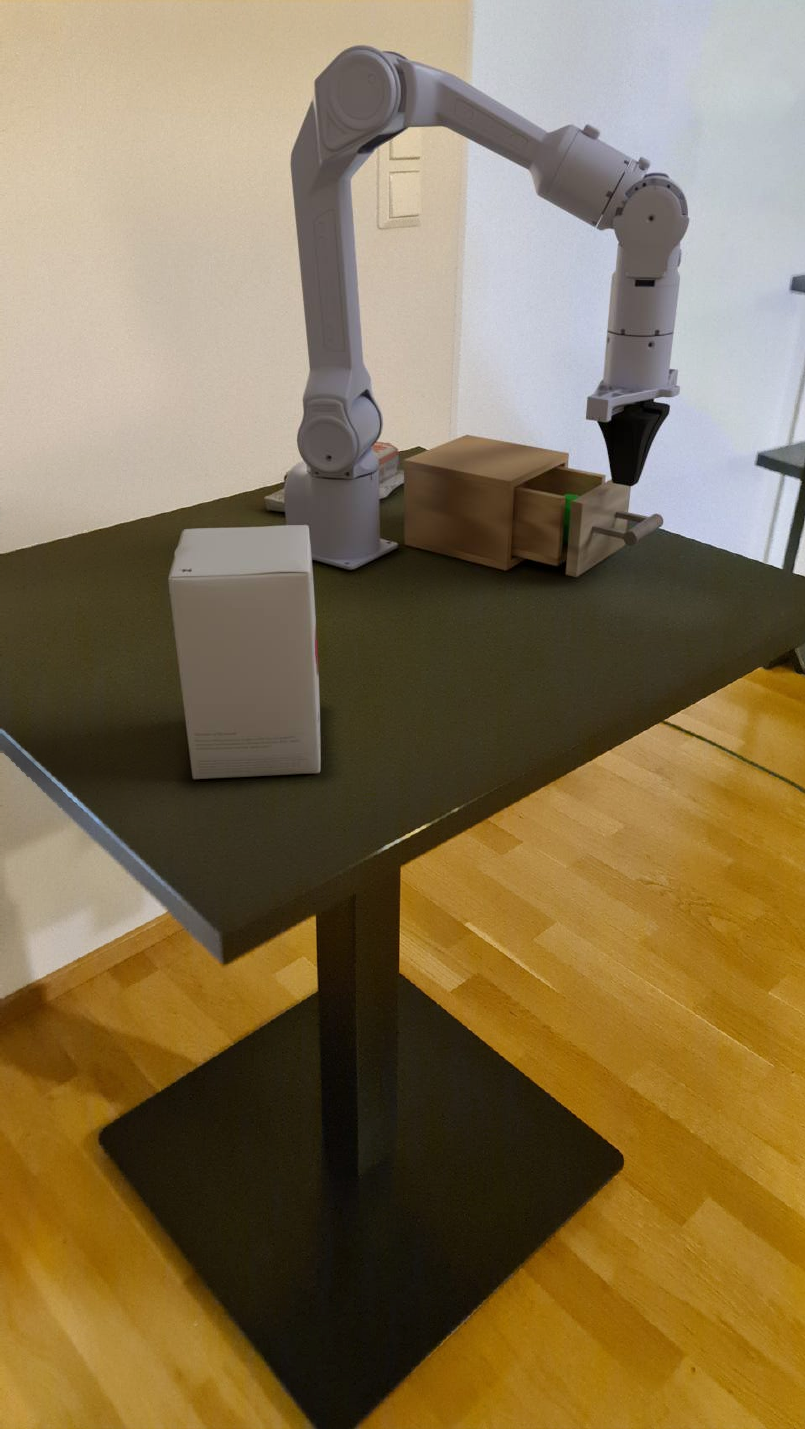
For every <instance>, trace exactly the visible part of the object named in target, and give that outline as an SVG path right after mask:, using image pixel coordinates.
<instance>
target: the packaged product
mask: <svg viewBox="0 0 805 1429" xmlns="http://www.w3.org/2000/svg"><path fill="white" fill-rule="evenodd" d="M373 450H374V453H375V456H376V457H377V459H378V461H379V500H381V499H384V498H387V497H388V496H389V495H390V493H391V492H392V491H394V490H395V489H397V488H398V487H399V486H401V485H404V469H398V467H399V466H400V458H399V449H398V447H396V446H395V445H392V444H391V443H390V442H383V441H377V442H376V443H375V444H374V445H373ZM290 470H291V469H289V470H288V471H286V472H285V474H284V476H283V483H284V484H285V482H286V478H287V475H288V473H289V471H290ZM263 500H264V503H265V506H266V510H268V511H274V512H282V513H285V501H284V488H282V489H279V490H278V491H276V492H273V493H272V494H269V495H266V496H264V499H263Z"/></svg>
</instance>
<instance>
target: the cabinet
mask: <svg viewBox="0 0 805 1429" xmlns="http://www.w3.org/2000/svg"><path fill="white" fill-rule="evenodd" d="M569 458H570V452H564V451H559V450H553V449H548V448H543V447H537V446H531V445H527V444H520V443H515V442H509V441H504V440H497V439H492V438H487V437H481V436H476V435H471V434H465V435H463V436H460V437H458V438H454V439H452V440H450V441H447V442H445V443H442V444H440V445H437V446H435V447H432V448H430V449H428V450H425V451H423V452H420V453H418V454H414V455H412V456H410V457H407V458H405V459H403V471H404V483H403V522H404V523H403V524H404V525H403V528H404V529H403V531H404V536H403V538H404V546H409V547H412V548H417V549H420V550H424V551H428V552H431V553H435V554H440V555H443V556H448V557H451V558H455V559H460V560H463V561H468V562H471V563H474V564H478V565H481V566H482V565H483V566H486V567H490V568H495V569H497V570H502V571H508V570H510V569H512V568H513V567H515V566H517V565H518V564H520V563H522V562H524V561H525V560H527V559H526V558H522V557H518V556H514V555H511V543H512V522H513V501H514V487H516V486H518V485H520V484H522V483H524V482H526V481H528V480H530V479H532V478H534V477H536V476H538V475H540V474H542V473H544V472H546V471H548V470H550V469H552V468H554V467H556V466H560V467H566V468H569V461H570V460H569Z"/></svg>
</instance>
